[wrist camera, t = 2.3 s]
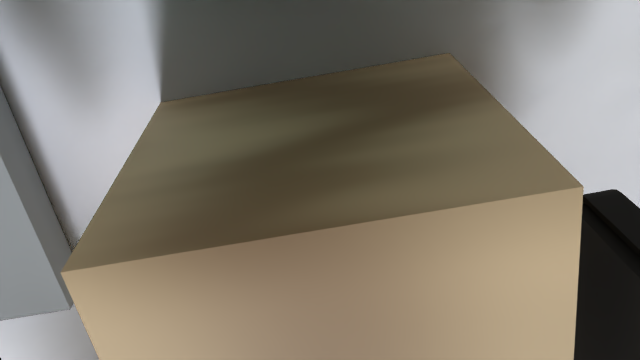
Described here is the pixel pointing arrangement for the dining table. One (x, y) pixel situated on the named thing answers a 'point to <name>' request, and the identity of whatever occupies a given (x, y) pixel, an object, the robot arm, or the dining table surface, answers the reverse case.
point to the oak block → (335, 227)
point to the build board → (27, 232)
